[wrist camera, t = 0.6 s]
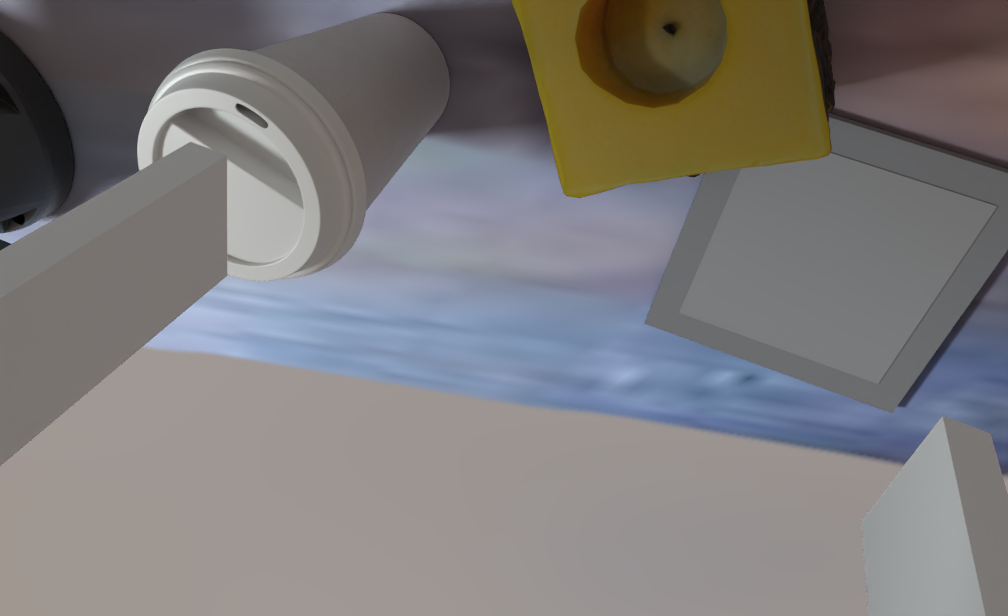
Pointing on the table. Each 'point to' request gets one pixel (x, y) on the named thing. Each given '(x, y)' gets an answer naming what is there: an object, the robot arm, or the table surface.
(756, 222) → the coaster
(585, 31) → the candle
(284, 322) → the table surface
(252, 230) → the coffee cup
